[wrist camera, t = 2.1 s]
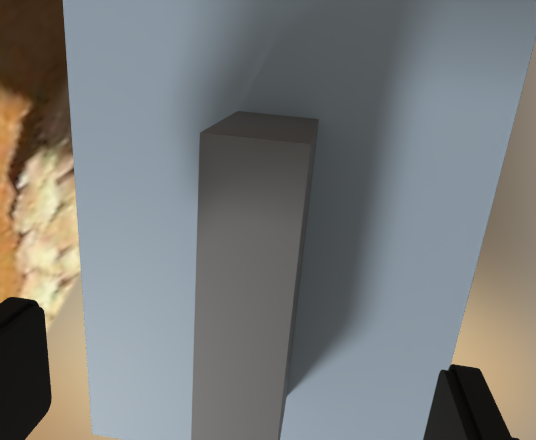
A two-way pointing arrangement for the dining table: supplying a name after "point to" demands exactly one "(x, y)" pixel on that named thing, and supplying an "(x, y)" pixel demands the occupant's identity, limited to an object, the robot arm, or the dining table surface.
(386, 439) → the lid
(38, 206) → the dining table surface
